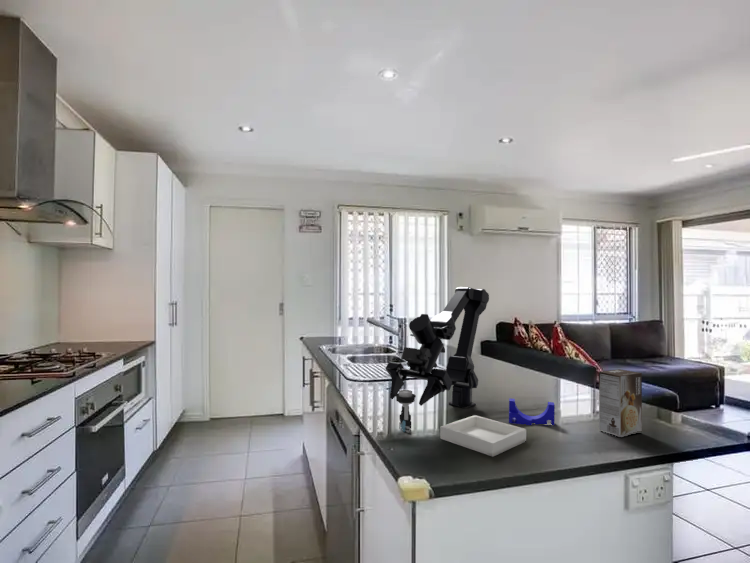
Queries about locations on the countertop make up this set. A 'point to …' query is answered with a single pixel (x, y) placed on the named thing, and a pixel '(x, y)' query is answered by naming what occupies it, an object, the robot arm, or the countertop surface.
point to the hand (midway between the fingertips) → (405, 401)
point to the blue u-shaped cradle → (521, 418)
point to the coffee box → (620, 401)
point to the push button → (405, 408)
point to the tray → (483, 435)
